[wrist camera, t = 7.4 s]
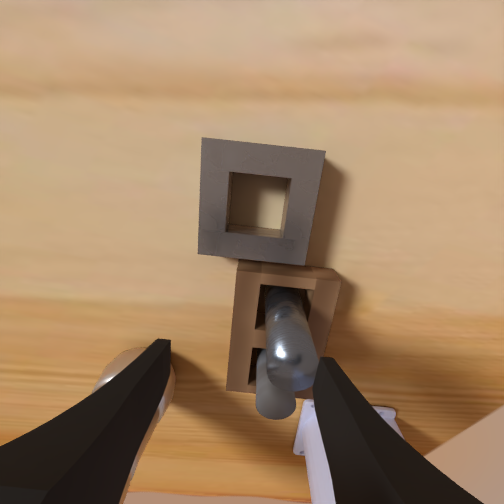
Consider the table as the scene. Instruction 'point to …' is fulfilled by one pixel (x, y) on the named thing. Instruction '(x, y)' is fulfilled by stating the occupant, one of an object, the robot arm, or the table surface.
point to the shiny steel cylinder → (288, 340)
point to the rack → (254, 329)
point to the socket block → (261, 163)
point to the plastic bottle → (116, 368)
